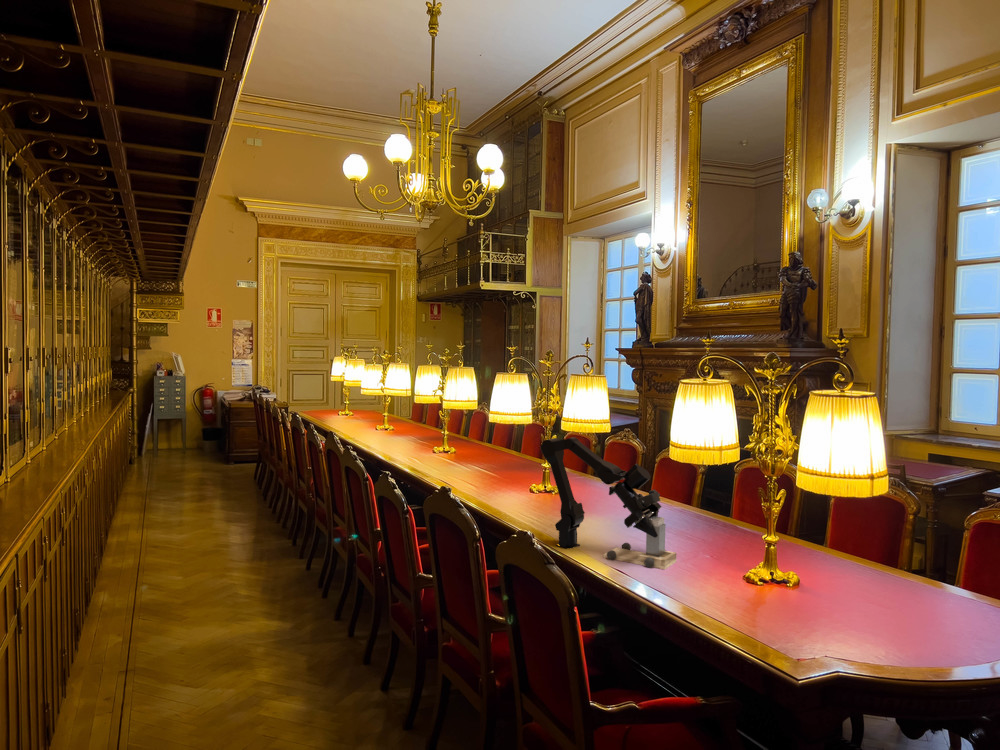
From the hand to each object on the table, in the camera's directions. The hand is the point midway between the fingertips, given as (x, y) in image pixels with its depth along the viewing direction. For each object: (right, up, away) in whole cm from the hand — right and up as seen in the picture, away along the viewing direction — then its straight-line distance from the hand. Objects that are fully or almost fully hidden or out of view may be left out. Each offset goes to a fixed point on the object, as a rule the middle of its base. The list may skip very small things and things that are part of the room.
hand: (659, 535), depth 224 cm
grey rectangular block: (-1, -7, +1) cm, 7 cm away
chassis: (-6, -9, +4) cm, 12 cm away
